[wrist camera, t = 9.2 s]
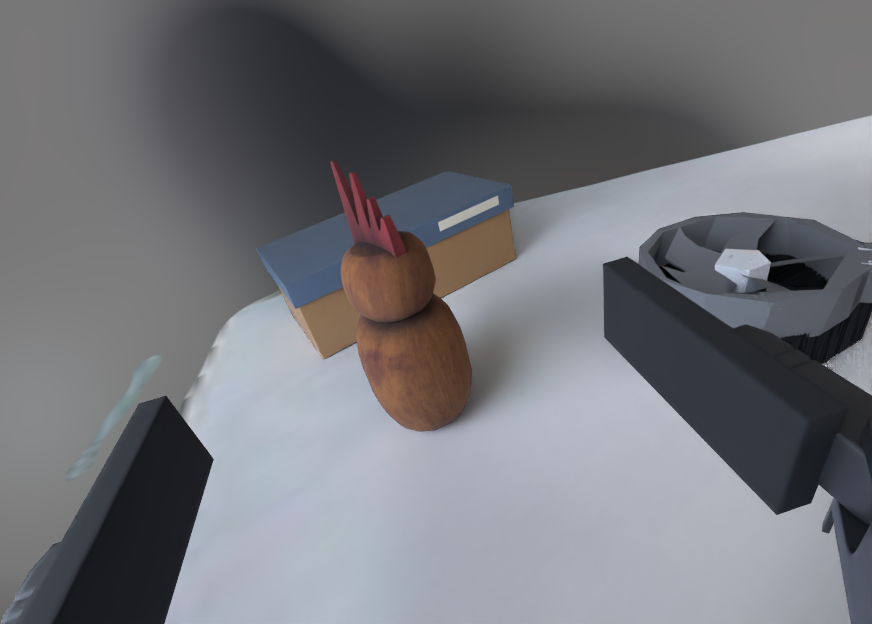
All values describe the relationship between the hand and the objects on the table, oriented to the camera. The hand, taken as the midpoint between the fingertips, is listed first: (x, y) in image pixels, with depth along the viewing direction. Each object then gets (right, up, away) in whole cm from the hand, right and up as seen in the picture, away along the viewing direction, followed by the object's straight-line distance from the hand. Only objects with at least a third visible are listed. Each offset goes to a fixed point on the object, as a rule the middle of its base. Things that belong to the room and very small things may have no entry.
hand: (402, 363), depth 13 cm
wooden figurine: (+1, -4, +14) cm, 15 cm away
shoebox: (-2, +4, +28) cm, 28 cm away
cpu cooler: (+19, 0, +14) cm, 23 cm away
